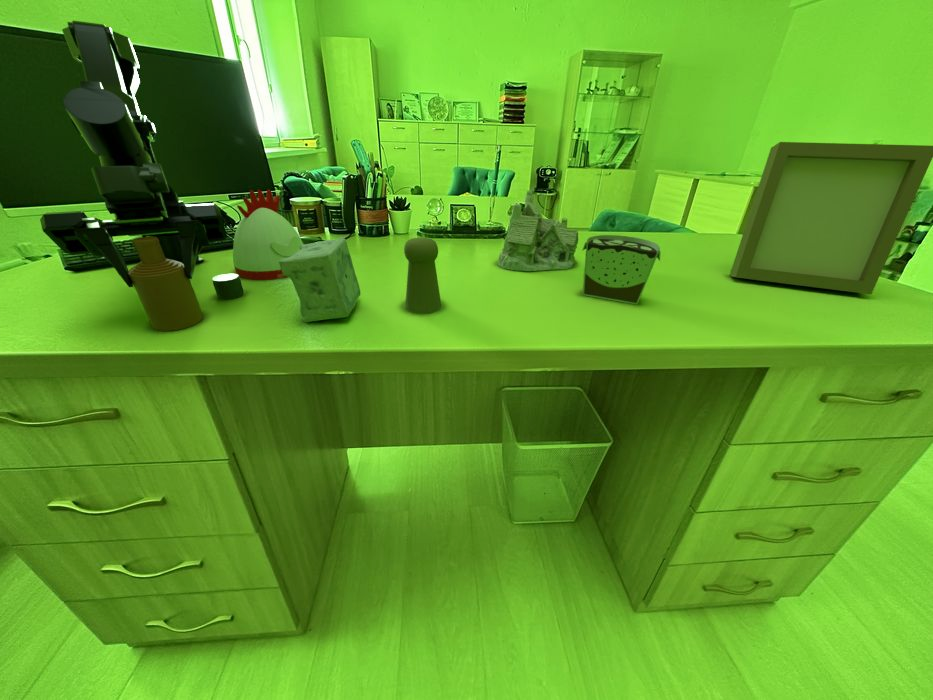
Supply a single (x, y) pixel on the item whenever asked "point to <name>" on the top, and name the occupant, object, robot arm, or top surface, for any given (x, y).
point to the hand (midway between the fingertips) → (160, 281)
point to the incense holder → (323, 279)
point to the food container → (618, 267)
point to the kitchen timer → (263, 239)
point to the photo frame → (829, 213)
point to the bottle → (163, 288)
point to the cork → (422, 276)
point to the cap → (228, 286)
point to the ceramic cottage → (537, 241)
